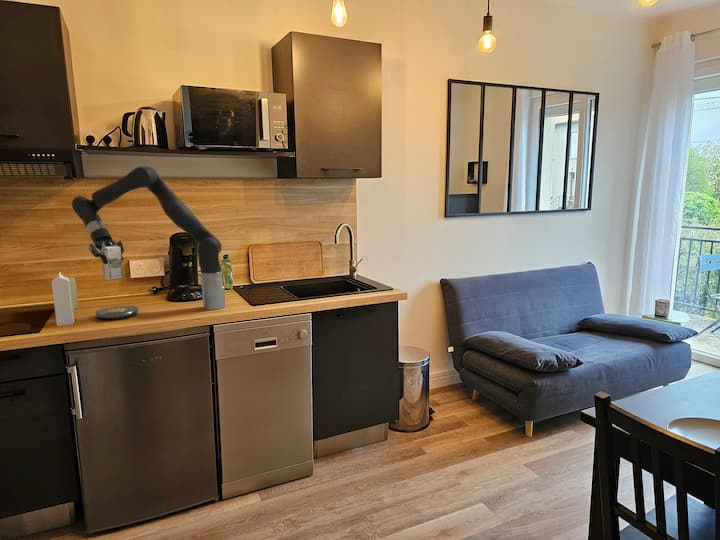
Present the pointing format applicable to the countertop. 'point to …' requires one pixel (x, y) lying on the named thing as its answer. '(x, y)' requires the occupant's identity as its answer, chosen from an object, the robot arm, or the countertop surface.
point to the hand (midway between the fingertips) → (114, 262)
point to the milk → (62, 300)
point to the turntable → (116, 312)
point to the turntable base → (117, 318)
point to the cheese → (73, 292)
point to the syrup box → (112, 263)
